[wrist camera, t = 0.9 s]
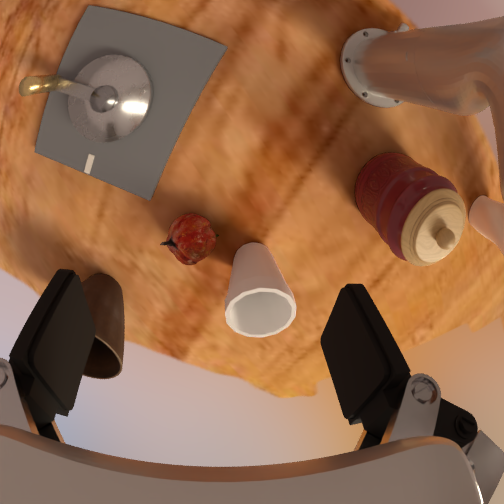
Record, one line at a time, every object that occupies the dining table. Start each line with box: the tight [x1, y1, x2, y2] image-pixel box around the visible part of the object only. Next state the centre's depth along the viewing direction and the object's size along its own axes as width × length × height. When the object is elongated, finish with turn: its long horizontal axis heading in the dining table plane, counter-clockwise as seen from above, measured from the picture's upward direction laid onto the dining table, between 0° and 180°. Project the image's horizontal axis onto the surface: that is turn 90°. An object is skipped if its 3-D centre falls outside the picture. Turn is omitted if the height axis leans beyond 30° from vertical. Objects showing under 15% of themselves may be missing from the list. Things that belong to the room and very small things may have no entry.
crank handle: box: [19, 55, 154, 143], centre depth 25 cm, size 16×12×9 cm
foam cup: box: [225, 242, 296, 337], centre depth 42 cm, size 10×9×13 cm
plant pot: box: [81, 274, 125, 379], centre depth 42 cm, size 15×15×16 cm
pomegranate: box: [160, 213, 219, 265], centre depth 40 cm, size 7×7×10 cm
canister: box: [355, 152, 466, 266], centre depth 34 cm, size 13×13×18 cm
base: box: [35, 5, 227, 201], centre depth 30 cm, size 24×22×2 cm
